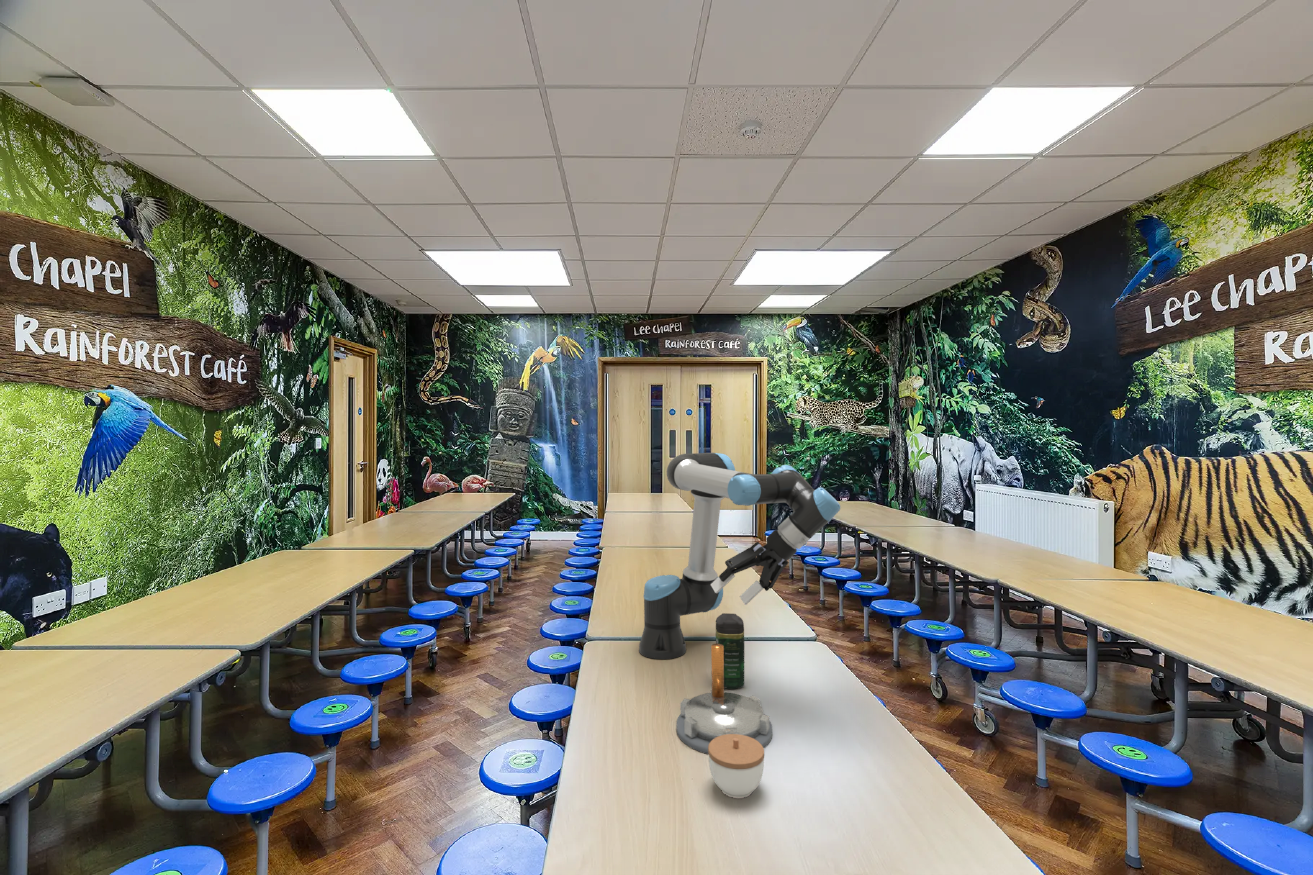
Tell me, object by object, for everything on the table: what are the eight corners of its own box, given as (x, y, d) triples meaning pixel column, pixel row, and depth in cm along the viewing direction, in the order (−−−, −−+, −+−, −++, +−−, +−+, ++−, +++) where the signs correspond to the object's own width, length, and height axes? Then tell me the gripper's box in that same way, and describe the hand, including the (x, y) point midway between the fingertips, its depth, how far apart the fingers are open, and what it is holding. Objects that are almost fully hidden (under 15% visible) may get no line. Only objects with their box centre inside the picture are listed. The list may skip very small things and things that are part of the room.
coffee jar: (746, 690, 149) (745, 621, 149) (716, 690, 149) (716, 621, 150) (742, 675, 159) (742, 610, 159) (715, 675, 159) (714, 610, 160)
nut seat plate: (657, 726, 130) (657, 719, 130) (723, 699, 144) (723, 693, 144) (724, 768, 113) (724, 760, 113) (792, 733, 127) (792, 725, 127)
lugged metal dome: (777, 744, 119) (776, 673, 119) (687, 748, 117) (687, 677, 118) (753, 700, 139) (753, 640, 140) (677, 703, 138) (677, 642, 138)
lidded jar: (726, 812, 99) (726, 759, 99) (698, 780, 109) (698, 732, 109) (776, 797, 104) (775, 746, 104) (745, 767, 113) (744, 721, 114)
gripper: (770, 534, 128) (707, 595, 132) (818, 563, 144) (761, 616, 149) (753, 513, 134) (693, 572, 138) (801, 542, 150) (746, 594, 154)
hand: (728, 595), depth 143 cm, fingers open, 13 cm apart
